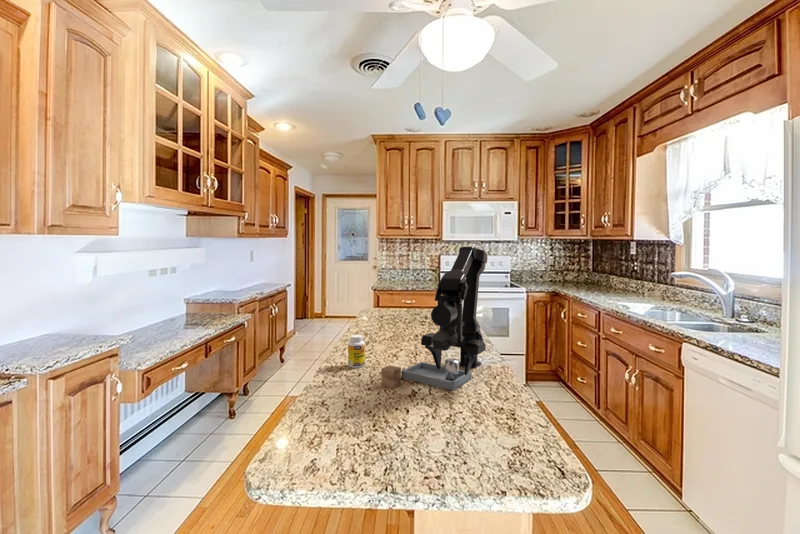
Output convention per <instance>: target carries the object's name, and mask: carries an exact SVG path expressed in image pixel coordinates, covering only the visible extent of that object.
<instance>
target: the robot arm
mask: <svg viewBox="0 0 800 534" xmlns="http://www.w3.org/2000/svg"><path fill="white" fill-rule="evenodd" d="M487 262H488V253H487V252H486V251H485V250H484V249H480V248H477V247H474V246H461V247H459V250H458V255H457V257H456V259H455V261H454V263H453V265H452V268H451V269H450V270H449V271H447V272H445V273H444V274H443V275H442V276H441V278H440V280H439V281H438V285H437V289H436V291H435V292H436V293H435V297H434V301H435V302H437V305H436V306H434V307H433V308H432V310H431V312H430V318H431V321H432V322H433V323H434V324H435V325H436V326H439V329H438V331H436V333H435V332H429V333H426V334H424V335H422V337H421V338H420V345H421V346H424V348H425V349H427V350H429V352H430V353H431V355H432V356H431V357H432V359H433V361H434V363H435V364H434V365H436V367H437V369H440V366H442V353H443V352H442V351H445V352H446V351H448V350H449V349H450V347H455V348H460V349H459V351H460V353H459V356H460V357H459V367H464V371H465V375H467V374H468V372H470V370H471V369H475V368H476V367H479V366H480V365H481V364H482V361H478V359H479V357H478V355H480V354H482V353H484V352H485V351H486V348H487V347H486V343H485V342H484V338H483V334H482V331H481V326H480V325H479V322H478V320H477V310H478V309H477V307H478V297H479V286H480V284H479V283H480V276H481V275H482V273H483V272H484V271H485V270H486V264H487Z"/></svg>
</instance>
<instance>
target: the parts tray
mask: <svg viewBox="0 0 800 534" xmlns="http://www.w3.org/2000/svg"><path fill="white" fill-rule="evenodd" d="M401 379H405V380H408V381H409V380H410V381H414V382H417V383H421V384H425V385H429V386H433V387H437V388H442V389H444V390H445V389H446V390H451V391H455V390H457V389H458V388H460V387H462V386H463V385H465V384H467V383H468V382H469V381H471V380H472V372H471V371H469V372H468V374H467V375H465V370H462V369H459V378H458V379H456V380H454V381H453V382H452V381H448V380H445V365H444V366H442V365H441V366H440V369H437V367H436V364H434V363H429V362H424V361H420V362H417V363H415V364H413V365H411V366H409V367H406V368H404V369H401Z"/></svg>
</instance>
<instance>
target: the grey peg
mask: <svg viewBox="0 0 800 534" xmlns="http://www.w3.org/2000/svg"><path fill="white" fill-rule="evenodd" d="M444 362H445V363H444V367H445V380H448V381H452V382H453V381H454V380H456V379H458V378H459V370H460V366H459V362H460V359H458V358H453V357H452V358H451V357H450V358H446V359H445V361H444Z"/></svg>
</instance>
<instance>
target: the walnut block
mask: <svg viewBox="0 0 800 534" xmlns="http://www.w3.org/2000/svg"><path fill="white" fill-rule="evenodd" d="M380 377H381V386H383V387H386V388H390V389H394V388H396V387H398V386H400V385H401V384H402V383H401V382H402V380H401V379H402V369H401V367H400V366H395V365H391V364H389V365H386V366H385V367H382V368H381V376H380Z"/></svg>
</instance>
